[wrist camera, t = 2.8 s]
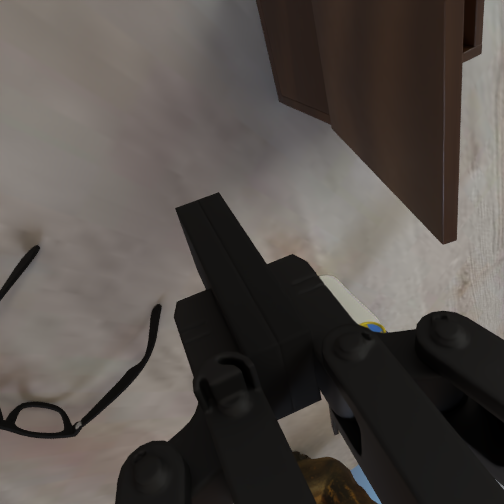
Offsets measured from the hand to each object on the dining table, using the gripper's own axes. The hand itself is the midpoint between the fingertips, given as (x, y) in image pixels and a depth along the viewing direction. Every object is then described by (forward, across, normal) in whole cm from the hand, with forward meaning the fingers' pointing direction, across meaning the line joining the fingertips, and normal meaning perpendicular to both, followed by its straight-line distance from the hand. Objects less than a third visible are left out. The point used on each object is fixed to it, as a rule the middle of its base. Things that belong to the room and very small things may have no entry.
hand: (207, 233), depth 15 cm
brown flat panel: (+10, +13, -1) cm, 17 cm away
